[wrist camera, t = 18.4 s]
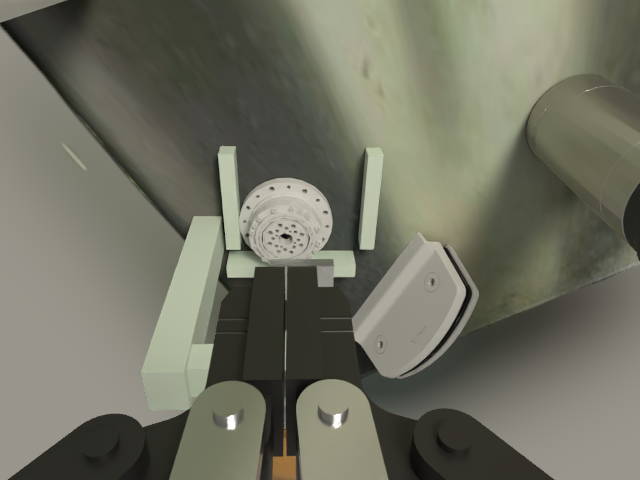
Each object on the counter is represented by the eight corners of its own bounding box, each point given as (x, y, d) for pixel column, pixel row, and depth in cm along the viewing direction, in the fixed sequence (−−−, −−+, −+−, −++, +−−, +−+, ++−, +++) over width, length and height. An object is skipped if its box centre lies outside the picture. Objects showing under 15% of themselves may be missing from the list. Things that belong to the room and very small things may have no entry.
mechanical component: (226, 235, 55) (305, 267, 58) (221, 258, 51) (306, 291, 54) (263, 161, 50) (348, 199, 53) (261, 180, 47) (352, 220, 49)
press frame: (380, 147, 50) (432, 280, 31) (369, 261, 57) (405, 422, 39) (184, 146, 49) (118, 281, 30) (199, 261, 56) (153, 427, 38)
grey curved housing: (418, 229, 55) (467, 293, 48) (447, 237, 58) (497, 298, 51) (344, 329, 63) (376, 396, 56) (371, 331, 66) (406, 396, 59)
